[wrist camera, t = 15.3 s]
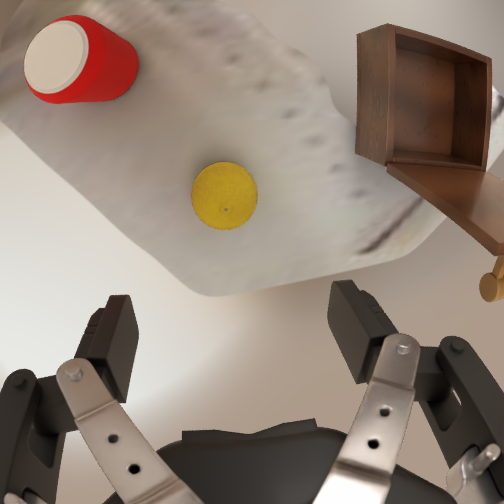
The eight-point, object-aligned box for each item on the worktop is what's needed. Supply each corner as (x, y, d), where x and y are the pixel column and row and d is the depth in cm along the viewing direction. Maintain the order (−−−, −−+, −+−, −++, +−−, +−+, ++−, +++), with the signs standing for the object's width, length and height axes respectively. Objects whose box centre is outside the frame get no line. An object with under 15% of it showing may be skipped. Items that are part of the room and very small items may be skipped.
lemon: (259, 164, 30) (274, 184, 23) (241, 216, 32) (250, 252, 25) (202, 148, 29) (199, 163, 22) (187, 202, 31) (180, 235, 24)
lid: (498, 243, 13) (463, 327, 16) (584, 235, 14) (558, 296, 17) (387, 162, 24) (377, 225, 27) (488, 172, 26) (476, 222, 29)
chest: (356, 34, 25) (386, 23, 19) (455, 58, 26) (491, 58, 21) (355, 153, 31) (384, 166, 25) (450, 160, 32) (485, 174, 26)
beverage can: (77, 100, 25) (8, 106, 14) (87, 40, 22) (23, 16, 12) (135, 102, 26) (89, 104, 15) (146, 39, 24) (107, 5, 13)
